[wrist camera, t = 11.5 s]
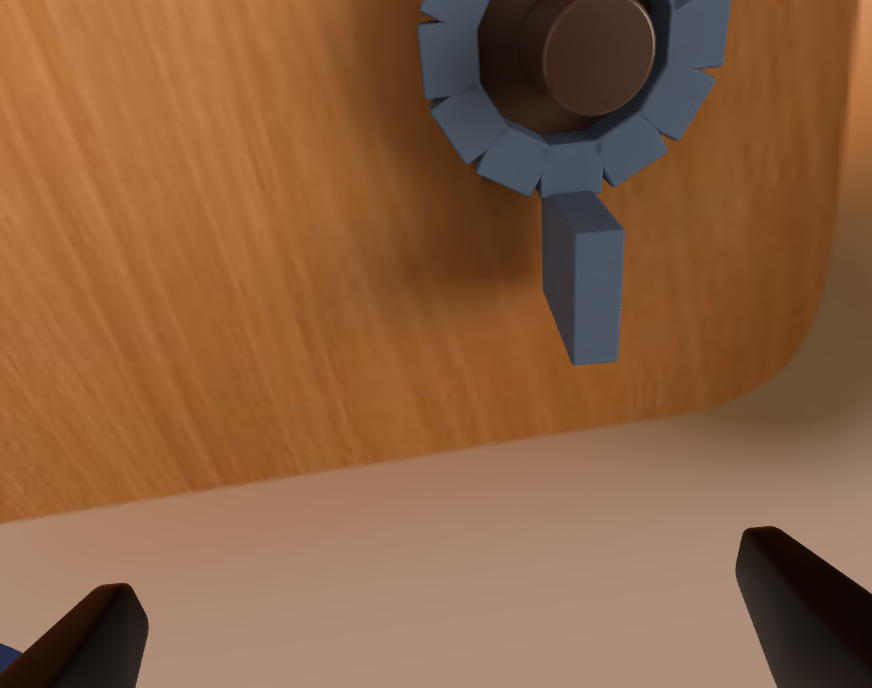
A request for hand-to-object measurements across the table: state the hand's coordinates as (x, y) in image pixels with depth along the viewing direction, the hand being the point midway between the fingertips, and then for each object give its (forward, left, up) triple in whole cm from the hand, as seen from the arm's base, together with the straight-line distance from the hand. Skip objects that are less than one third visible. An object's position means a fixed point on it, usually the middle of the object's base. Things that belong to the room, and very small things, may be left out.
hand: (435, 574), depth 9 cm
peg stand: (+5, -5, -10) cm, 12 cm away
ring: (+4, -4, -9) cm, 11 cm away
